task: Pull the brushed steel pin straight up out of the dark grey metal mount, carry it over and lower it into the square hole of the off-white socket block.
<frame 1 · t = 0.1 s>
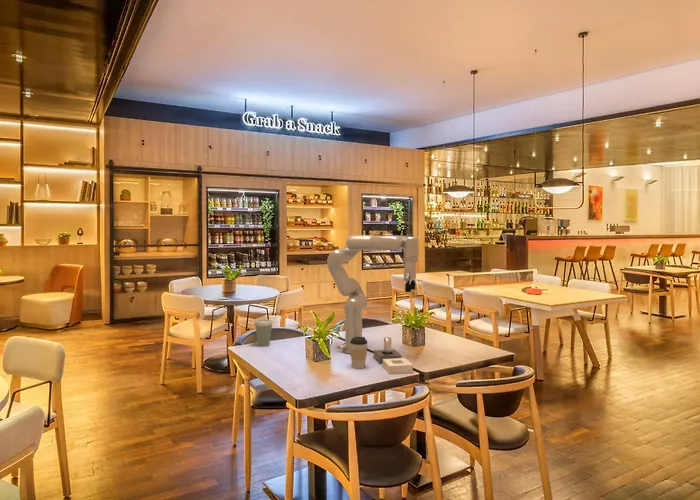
hand: (410, 290, 265), 37 cm above the table, tool pointing down, fingers open, 9 cm apart
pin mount: (387, 360, 263), on the table
coffee cup: (358, 366, 251), on the table
disposable coffee cup: (263, 345, 291), on the table
socket block: (397, 369, 246), on the table
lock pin: (387, 349, 263), in the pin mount
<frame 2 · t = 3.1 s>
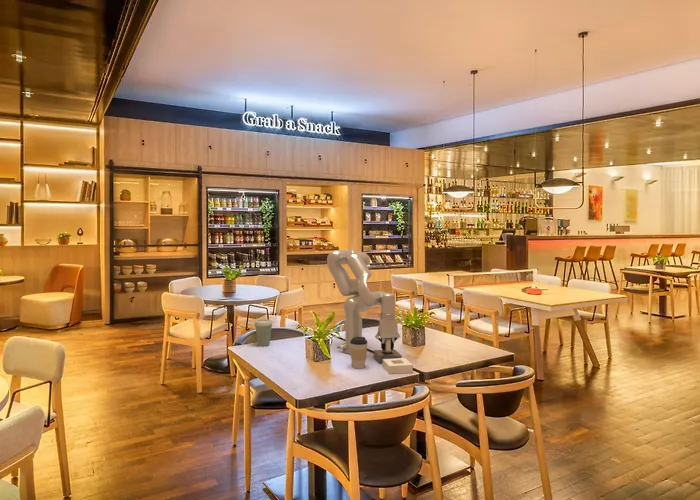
hand: (387, 349, 263), 6 cm above the table, tool pointing down, fingers closed on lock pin, 4 cm apart
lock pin: (387, 349, 263), in the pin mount, touching gripper
everything else where it was.
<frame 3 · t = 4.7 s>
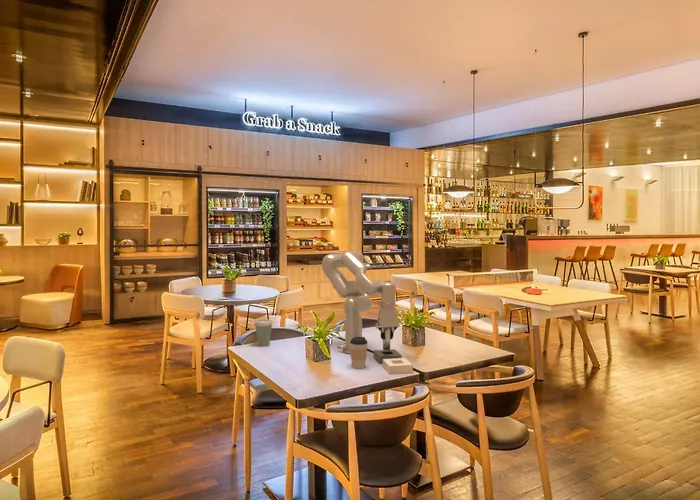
hand: (386, 338, 263), 12 cm above the table, tool pointing down, fingers closed on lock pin, 4 cm apart
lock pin: (386, 338, 263), point 12 cm above the table, touching gripper
everything else where it was.
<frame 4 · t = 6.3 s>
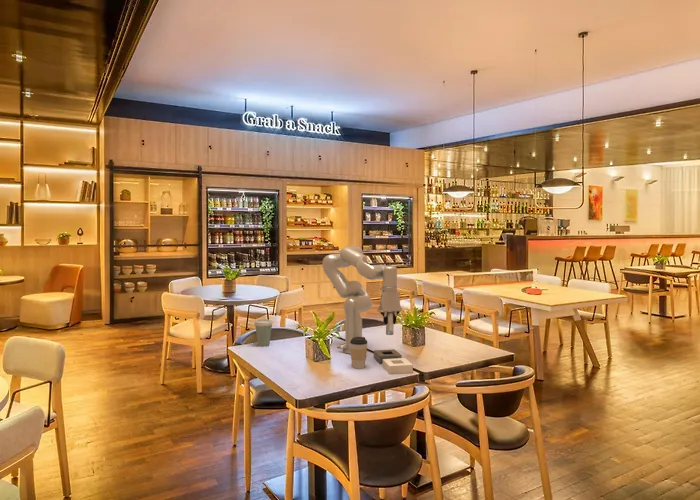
hand: (389, 323, 259), 21 cm above the table, tool pointing down, fingers closed on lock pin, 4 cm apart
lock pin: (389, 323, 259), point 21 cm above the table, touching gripper
everything else where it was.
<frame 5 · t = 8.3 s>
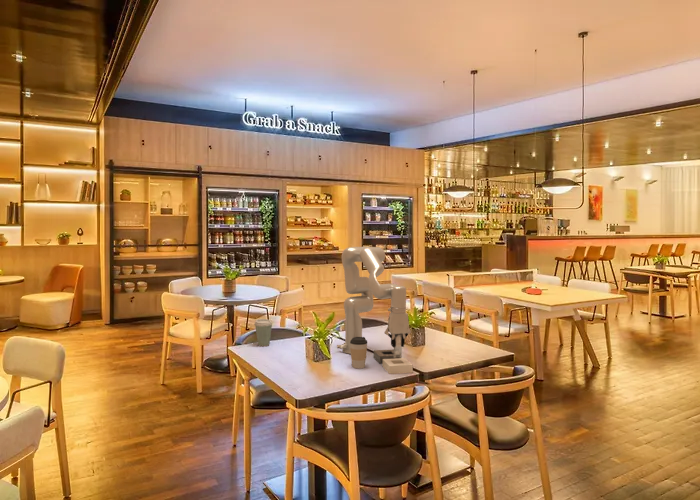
hand: (397, 346, 246), 12 cm above the table, tool pointing down, fingers closed on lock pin, 4 cm apart
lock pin: (397, 345, 246), point 12 cm above the table, touching gripper
everything else where it was.
when the fingers open (7 cm above the table, at t = 9.6 s): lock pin drops 1 cm, resting in socket block.
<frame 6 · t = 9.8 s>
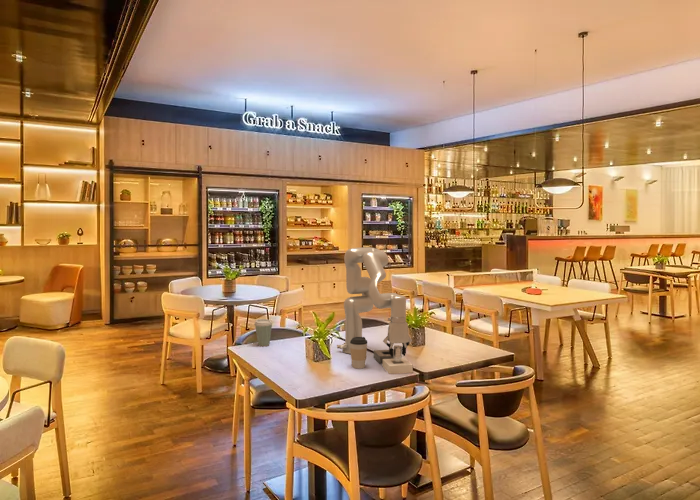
hand: (397, 355, 246), 8 cm above the table, tool pointing down, fingers open, 5 cm apart
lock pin: (397, 358, 246), in the socket block
everything else where it was.
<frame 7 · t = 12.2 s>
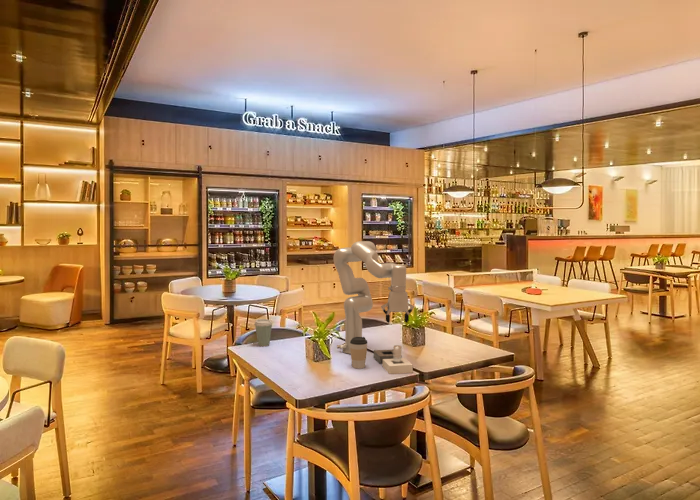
hand: (397, 322, 251), 23 cm above the table, tool pointing down, fingers open, 9 cm apart
nothing on the table moved.
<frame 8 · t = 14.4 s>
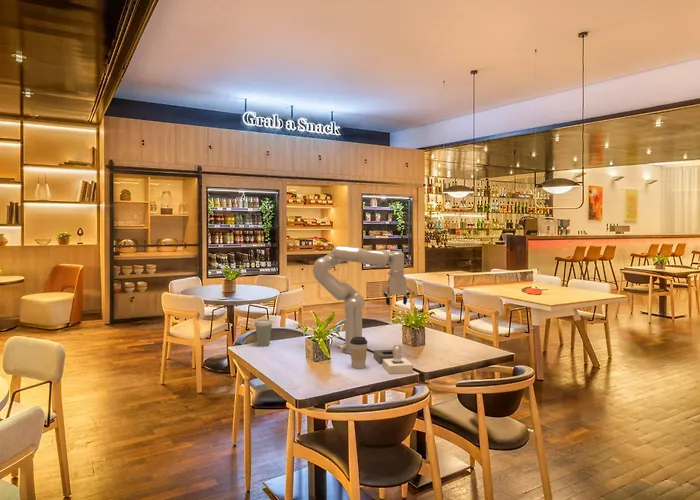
hand: (396, 304, 273), 28 cm above the table, tool pointing down, fingers open, 9 cm apart
nothing on the table moved.
at the end: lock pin 0.1 cm off-centre on the socket block, point 6.0 cm above the socket block's base; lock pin tilted 0°; the gripper is holding nothing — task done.
